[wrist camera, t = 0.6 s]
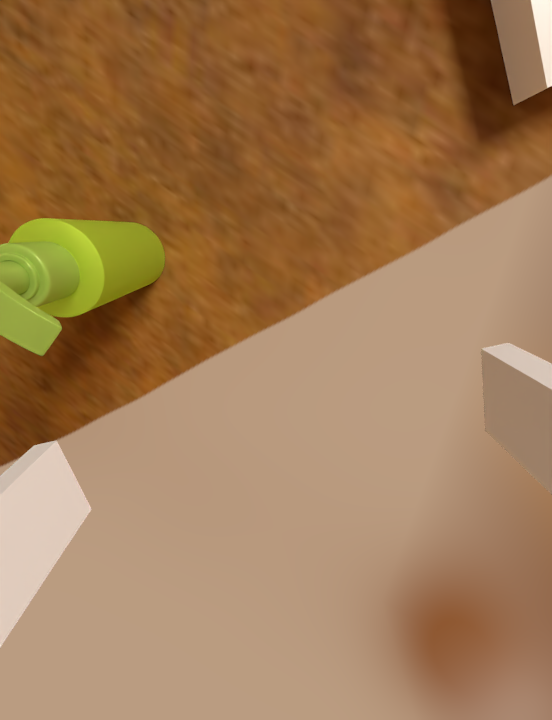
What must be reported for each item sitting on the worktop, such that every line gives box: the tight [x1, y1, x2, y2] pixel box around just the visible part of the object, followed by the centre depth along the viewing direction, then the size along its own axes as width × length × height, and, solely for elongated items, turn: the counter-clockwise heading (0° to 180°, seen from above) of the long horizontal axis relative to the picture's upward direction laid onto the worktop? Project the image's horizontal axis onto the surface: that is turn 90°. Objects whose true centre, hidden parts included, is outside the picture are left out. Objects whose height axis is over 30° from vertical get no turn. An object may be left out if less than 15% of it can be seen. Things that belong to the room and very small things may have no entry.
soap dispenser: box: [0, 218, 165, 356], centre depth 25 cm, size 6×7×20 cm
